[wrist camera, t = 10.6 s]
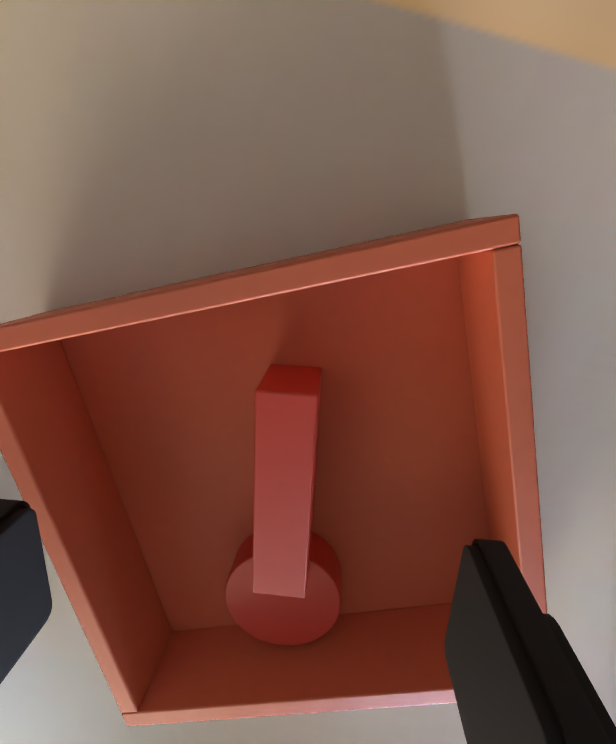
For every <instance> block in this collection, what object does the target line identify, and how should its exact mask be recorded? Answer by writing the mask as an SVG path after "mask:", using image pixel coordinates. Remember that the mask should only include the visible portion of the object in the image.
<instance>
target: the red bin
mask: <svg viewBox="0 0 616 744" xmlns="http://www.w3.org/2000/svg"><path fill="white" fill-rule="evenodd" d="M520 241H521V237H520V223H519V216H518V214H510V215H501V216H493V217H484V218H476V219H468V220H464V221H459V222H454V223H450V224H445V225H441V226H436V227H432V228H427V229H422V230H418V231H413V232H409V233H404V234H400V235H395V236H391V237H386V238H381V239H377V240H372V241H368V242H363V243H359V244H354V245H349V246H345V247H340V248H336V249H331V250H327V251H322V252H318V253H313V254H308V255H304V256H299V257H295V258H290V259H286V260H281V261H276V262H272V263H267V264H263V265H258V266H254V267H249V268H245V269H240V270H235V271H231V272H226V273H222V274H217V275H213V276H208V277H203V278H199V279H194V280H190V281H185V282H181V283H176V284H172V285H167V286H162V287H158V288H153V289H149V290H144V291H140V292H135V293H130V294H126V295H121V296H117V297H112V298H108V299H103V300H99V301H94V302H89V303H85V304H80V305H76V306H71V307H67V308H62V309H57V310H53V311H48V312H44V313H40V314H36V315H32V316H29V317H25V318H21V319H17V320H13V321H9V322H6V323H2V324H0V450H1V452H2V454H3V457H4V459H5V461H6V463H7V465H8V467H9V470H10V472H11V474H12V476H13V478H14V480H15V483H16V485H17V487H18V489H19V491H20V494H21V496H22V498H23V500H24V501H25V502H27V503H28V504H29V505H30V507H31V509H34V510H35V512H36V515H37V520H38V525H39V531H40V537H41V539H42V541H43V544H44V546H45V548H46V550H47V552H48V554H49V557H50V559H51V561H52V563H53V565H54V568H55V570H56V572H57V574H58V576H59V578H60V581H61V583H62V585H63V587H64V589H65V592H66V594H67V596H68V598H69V600H70V602H71V605H72V607H73V609H74V611H75V613H76V615H77V618H78V620H79V622H80V624H81V626H82V629H83V631H84V633H85V635H86V637H87V639H88V642H89V644H90V646H91V648H92V650H93V652H94V655H95V657H96V659H97V661H98V663H99V666H100V668H101V670H102V672H103V674H104V676H105V679H106V681H107V683H108V685H109V687H110V689H111V692H112V694H113V696H114V698H115V700H116V703H117V705H118V707H119V709H120V711H121V712H122V716H123V718H124V720H125V723H126V725H127V726H138V725H152V724H166V723H180V722H194V721H208V720H222V719H236V718H250V717H263V716H277V715H291V714H305V713H319V712H333V711H347V710H361V709H375V708H389V707H403V706H417V705H431V704H445V703H457V701H456V697H455V693H454V689H453V685H452V682H451V678H450V674H449V670H448V666H447V662H446V657H445V636H446V631H447V626H448V621H449V616H450V611H451V606H452V601H453V596H454V591H455V586H456V581H457V576H458V571H459V566H460V561H461V556H462V551H463V547H464V546H465V545H471V544H472V541H473V540H474V539H487V540H500V541H503V542H505V544H506V545H507V547H508V549H509V551H510V553H511V554H512V556H513V558H514V560H515V562H516V564H517V566H518V568H519V570H520V571H521V573H522V575H523V577H524V579H525V581H526V583H527V585H528V586H529V588H530V590H531V592H532V594H533V596H534V598H535V600H536V602H537V603H538V605H539V607H540V609H541V611H542V613H544V614H547V604H546V590H545V576H544V562H543V547H542V533H541V519H540V505H539V491H538V476H537V462H536V448H535V434H534V420H533V405H532V391H531V377H530V363H529V349H528V335H527V320H526V306H525V292H524V278H523V264H522V249H521V245H518V244H519V243H520ZM270 364H279V365H294V366H308V367H320V368H322V382H321V398H320V414H319V431H318V447H317V463H316V479H315V495H314V512H313V528H312V532H314V533H315V534H317V535H319V536H320V537H322V538H323V539H324V540H325V541H326V542H327V543H328V544H329V545H330V546H331V547H332V549H333V550H334V552H335V553H336V555H337V557H338V559H339V563H340V567H341V607H340V612H339V615H338V618H337V620H336V622H335V623H334V625H333V626H332V627H331V629H330V630H329V631H328V632H326V633H325V634H324V635H322V636H321V637H319V638H317V639H316V640H313V641H311V642H308V643H304V644H299V645H277V644H272V643H268V642H265V641H262V640H259V639H257V638H255V637H253V636H252V635H250V634H248V633H247V632H246V631H244V630H243V629H242V628H241V627H240V626H239V625H238V624H237V623H236V622H235V621H234V619H233V618H232V616H231V615H230V613H229V611H228V608H227V605H226V601H225V587H226V583H227V580H228V577H229V574H230V571H231V568H232V565H233V562H234V559H235V556H236V553H237V551H238V549H239V547H240V546H241V544H242V543H243V542H244V540H245V539H247V538H248V537H249V536H250V535H251V534H253V495H254V412H255V390H256V389H257V387H258V385H259V383H260V381H261V380H262V378H263V376H264V374H265V373H266V371H267V369H268V367H269V365H270Z"/></svg>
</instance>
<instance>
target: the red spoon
mask: <svg viewBox="0 0 616 744" xmlns="http://www.w3.org/2000/svg"><path fill="white" fill-rule="evenodd" d="M321 382H322V368H320V367H308V366H294V365H279V364H270V365H269V367H268V369H267V371H266V373H265V374H264V376H263V378H262V380H261V381H260V383H259V385H258V387H257V389H256V390H255V412H254V495H253V534H251V535H250V536H249V537H248V538H247V539H245V540H244V542H243V543H242V544H241V546H240V547H239V549H238V551H237V553H236V556H235V559H234V562H233V565H232V568H231V571H230V574H229V577H228V580H227V583H226V587H225V601H226V605H227V608H228V611H229V613H230V615H231V616H232V618H233V619H234V621H235V622H236V623H237V624H238V625H239V626H240V627H241V628H242V629H243V630H244V631H246V632H247V633H248V634H250V635H252V636H253V637H255V638H257V639H259V640H262V641H265V642H268V643H272V644H277V645H299V644H304V643H308V642H311V641H313V640H316V639H317V638H319V637H321V636H322V635H324V634H325V633H326V632H328V631H329V630H330V629H331V627H332V626H333V625H334V623H335V622H336V620H337V618H338V615H339V612H340V607H341V567H340V563H339V559H338V557H337V555H336V553H335V552H334V550H333V549H332V547H331V546H330V545H329V544H328V543H327V542H326V541H325V540H324V539H323V538H322V537H320V536H319V535H317V534H315V533H314V532H312V528H313V512H314V495H315V479H316V463H317V447H318V431H319V414H320V398H321Z"/></svg>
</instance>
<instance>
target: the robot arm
mask: <svg viewBox="0 0 616 744" xmlns="http://www.w3.org/2000/svg"><path fill="white" fill-rule="evenodd" d="M51 609H52V598H51V593H50V587H49V581H48V576H47V570H46V565H45V559H44V553H43V548H42V542H41V537H40V531H39V525H38V520H37V515H36V512H35V510H34V509H31V507H30V505H29V504H28V503H27V502H25V501H17V500H5V499H0V684H1V682H2V681H3V680H4V678H5V677H6V676H7V674H8V673H9V671H10V670H11V669H12V667H13V666H14V665H15V663H16V662H17V661H18V659H19V658H20V657H21V655H22V654H23V652H24V651H25V650H26V648H27V647H28V646H29V644H30V643H31V642H32V640H33V639H34V638H35V636H36V635H37V633H38V632H39V631H40V629H41V628H42V627H43V625H44V624H45V623H46V621H47V619H48V618H49V615H50V613H51ZM445 657H446V662H447V666H448V670H449V674H450V678H451V682H452V685H453V689H454V693H455V697H456V701H457V705H458V709H459V713H460V717H461V721H462V725H463V729H464V733H465V737H466V741H467V744H616V727H615V725H614V723H613V721H612V719H611V718H610V716H609V714H608V712H607V710H606V709H605V707H604V705H603V703H602V701H601V700H600V698H599V696H598V694H597V692H596V691H595V689H594V687H593V685H592V683H591V682H590V680H589V678H588V676H587V674H586V673H585V671H584V669H583V667H582V665H581V664H580V662H579V660H578V658H577V656H576V655H575V653H574V651H573V649H572V647H571V646H570V644H569V642H568V640H567V639H566V637H565V635H564V633H563V631H562V630H561V628H560V626H559V624H558V623H557V622H556V620H555V619H554V618H553V617H552V616H551V615H549V614H544V613H542V611H541V609H540V607H539V605H538V603H537V602H536V600H535V598H534V596H533V594H532V592H531V590H530V588H529V586H528V585H527V583H526V581H525V579H524V577H523V575H522V573H521V571H520V570H519V568H518V566H517V564H516V562H515V560H514V558H513V556H512V554H511V553H510V551H509V549H508V547H507V545H506V544H505V542H503V541H500V540H487V539H474V540H473V541H472V544H471V545H465V546H464V547H463V551H462V556H461V561H460V566H459V571H458V576H457V581H456V586H455V591H454V596H453V601H452V606H451V611H450V616H449V621H448V626H447V631H446V636H445Z"/></svg>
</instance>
